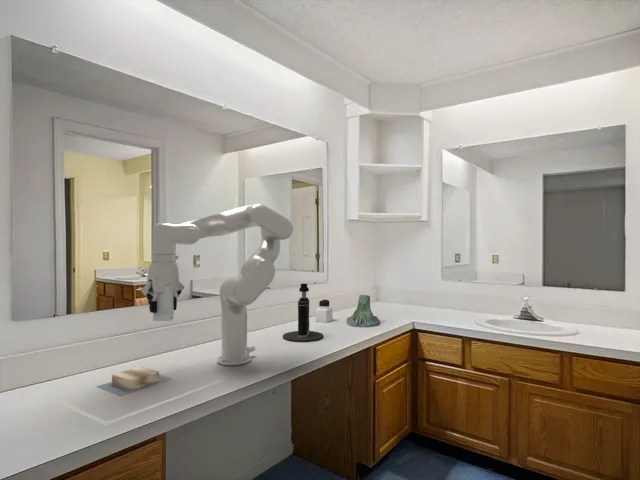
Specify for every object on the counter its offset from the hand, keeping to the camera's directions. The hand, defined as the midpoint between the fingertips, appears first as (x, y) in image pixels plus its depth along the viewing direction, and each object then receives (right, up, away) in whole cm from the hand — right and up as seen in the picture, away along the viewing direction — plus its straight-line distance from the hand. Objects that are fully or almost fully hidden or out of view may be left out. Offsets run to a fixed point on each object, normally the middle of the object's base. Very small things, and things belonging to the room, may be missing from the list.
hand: (163, 310), depth 142 cm
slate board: (-5, -22, -10) cm, 25 cm away
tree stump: (+77, -22, +85) cm, 117 cm away
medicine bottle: (+56, -22, +91) cm, 109 cm away
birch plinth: (-5, -21, -10) cm, 24 cm away
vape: (+46, -22, +53) cm, 74 cm away
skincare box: (0, -4, 0) cm, 4 cm away
